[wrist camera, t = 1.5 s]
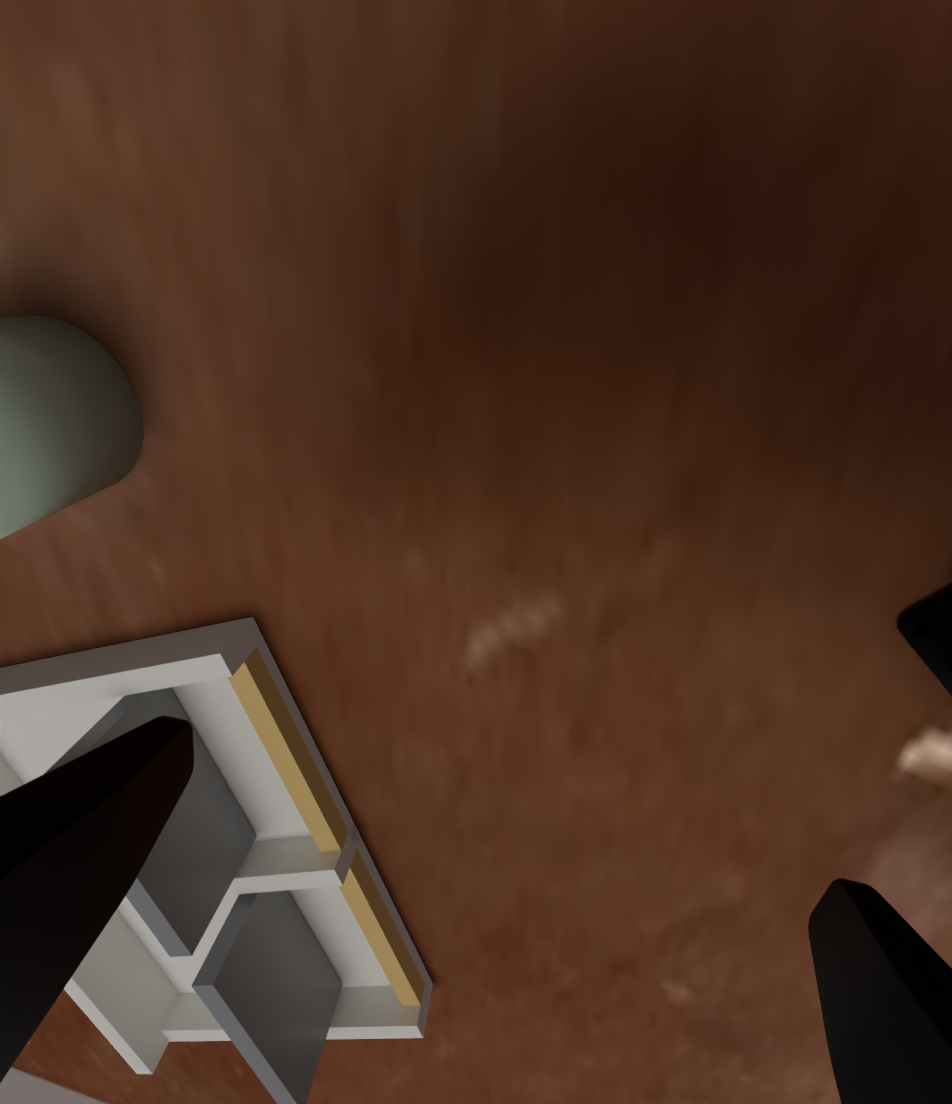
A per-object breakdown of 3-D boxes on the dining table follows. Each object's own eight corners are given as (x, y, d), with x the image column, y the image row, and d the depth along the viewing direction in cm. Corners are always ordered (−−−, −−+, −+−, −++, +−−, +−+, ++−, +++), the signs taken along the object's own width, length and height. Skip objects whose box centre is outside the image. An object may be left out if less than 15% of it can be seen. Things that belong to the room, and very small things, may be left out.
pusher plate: (162, 674, 25) (63, 774, 20) (256, 836, 28) (192, 955, 23) (142, 678, 25) (39, 778, 20) (238, 838, 28) (170, 957, 23)
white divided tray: (252, 616, 24) (158, 722, 18) (433, 984, 32) (405, 1131, 27) (-55, 678, 27) (-211, 782, 22) (179, 993, 36) (110, 1123, 30)
